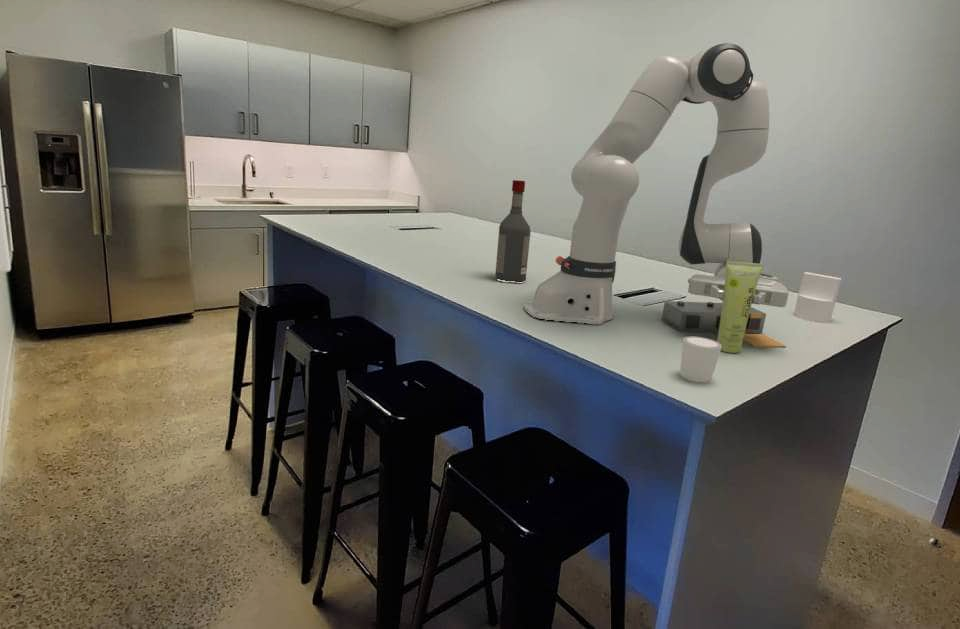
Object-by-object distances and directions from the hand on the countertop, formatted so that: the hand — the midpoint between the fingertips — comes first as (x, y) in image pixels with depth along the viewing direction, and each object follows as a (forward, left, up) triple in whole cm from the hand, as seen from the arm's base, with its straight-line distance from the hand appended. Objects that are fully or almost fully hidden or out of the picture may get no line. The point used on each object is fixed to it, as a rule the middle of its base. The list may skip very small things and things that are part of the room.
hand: (738, 297), depth 119 cm
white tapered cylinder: (-16, -14, -12) cm, 24 cm away
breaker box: (+6, +17, -12) cm, 22 cm away
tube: (0, +1, -12) cm, 12 cm away
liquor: (-36, +61, -12) cm, 72 cm away
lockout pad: (+12, +7, -12) cm, 19 cm away
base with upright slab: (+43, +28, -12) cm, 53 cm away
